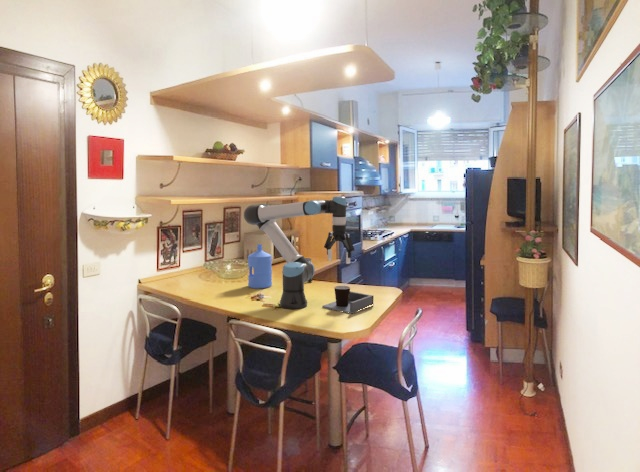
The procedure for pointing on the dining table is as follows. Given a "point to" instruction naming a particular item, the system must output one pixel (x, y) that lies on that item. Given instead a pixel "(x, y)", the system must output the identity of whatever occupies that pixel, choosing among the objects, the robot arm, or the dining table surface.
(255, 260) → the water jug
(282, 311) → the dining table surface
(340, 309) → the corner arena
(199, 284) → the dining table surface
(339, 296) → the coffee mug
